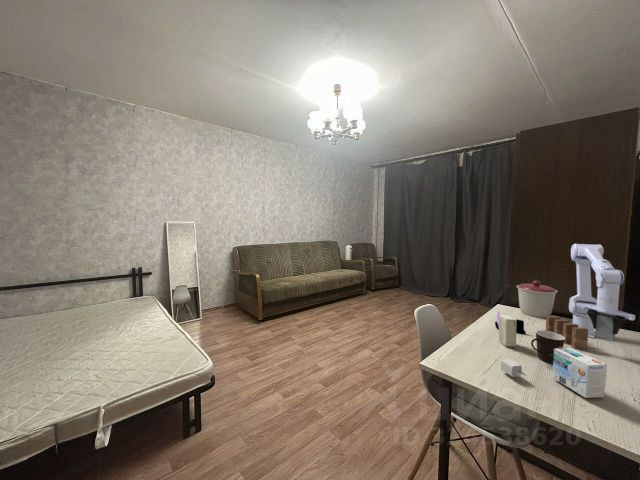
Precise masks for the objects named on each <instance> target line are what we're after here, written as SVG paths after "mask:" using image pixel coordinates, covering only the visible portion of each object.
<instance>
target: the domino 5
mask: <svg viewBox="0 0 640 480" xmlns="http://www.w3.org/2000/svg"><path fill="white" fill-rule="evenodd" d="M595 337H599V338H602V339H604V340H605V339H606V340H608V341H612V342H613V341H615V339H616V334H613V319H612V317H610V316H607V315H603V314H600V315H597V320H596V329H595Z"/></svg>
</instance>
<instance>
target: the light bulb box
mask: <svg viewBox="0 0 640 480" xmlns="http://www.w3.org/2000/svg"><path fill="white" fill-rule="evenodd" d="M607 369H608V364H607V363H605V362H603V361H600V360H598V359H596V358H594V357H591V356H590V355H587V354H585V353H583V352H581V351H578V350H577V349H574V348H572V347H565V348H564V347H563V348H561V349H554V360H553V363H552V374H551V375H552V376H551V377H552V378H553V379H554V380H556V381H557V382H559V383H561V384H562V385H564V386H565V387H568V388H569V389H571V390H572V391H573V392H576V394H579V395H580V396H582V397H583V398H585V399H588V398H592V399H593V398H604V397H605V394H606V382H607Z"/></svg>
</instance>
